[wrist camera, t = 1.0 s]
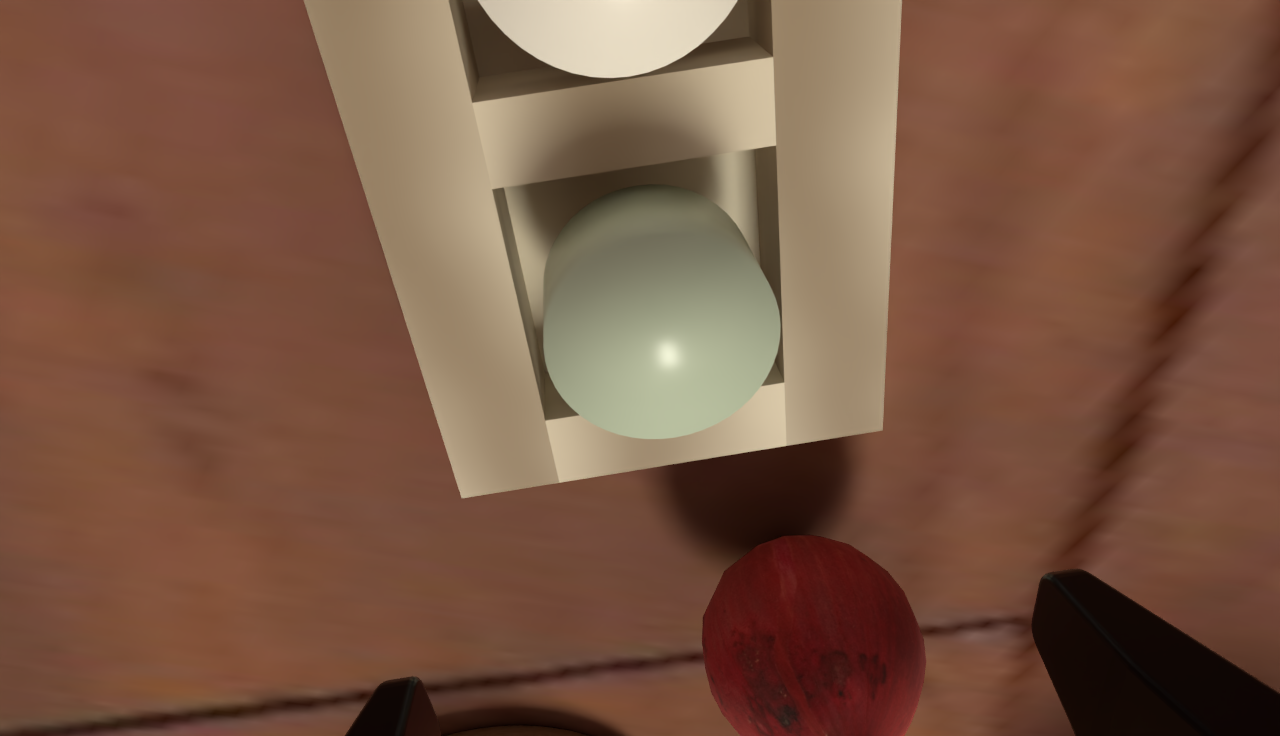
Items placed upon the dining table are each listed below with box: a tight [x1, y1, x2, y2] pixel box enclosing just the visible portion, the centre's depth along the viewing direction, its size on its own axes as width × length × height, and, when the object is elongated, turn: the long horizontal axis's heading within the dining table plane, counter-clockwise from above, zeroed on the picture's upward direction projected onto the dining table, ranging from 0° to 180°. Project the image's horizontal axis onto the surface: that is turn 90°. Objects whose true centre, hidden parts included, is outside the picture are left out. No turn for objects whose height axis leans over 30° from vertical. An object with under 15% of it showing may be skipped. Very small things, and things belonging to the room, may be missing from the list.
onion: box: [702, 535, 926, 736], centre depth 22 cm, size 6×6×8 cm
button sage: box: [543, 184, 781, 439], centre depth 16 cm, size 4×4×2 cm
